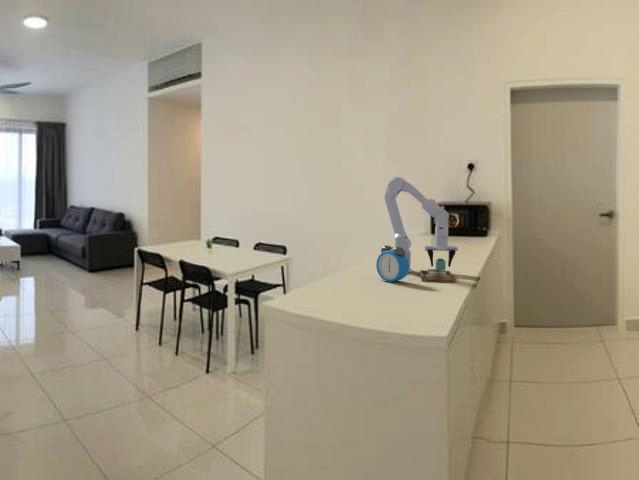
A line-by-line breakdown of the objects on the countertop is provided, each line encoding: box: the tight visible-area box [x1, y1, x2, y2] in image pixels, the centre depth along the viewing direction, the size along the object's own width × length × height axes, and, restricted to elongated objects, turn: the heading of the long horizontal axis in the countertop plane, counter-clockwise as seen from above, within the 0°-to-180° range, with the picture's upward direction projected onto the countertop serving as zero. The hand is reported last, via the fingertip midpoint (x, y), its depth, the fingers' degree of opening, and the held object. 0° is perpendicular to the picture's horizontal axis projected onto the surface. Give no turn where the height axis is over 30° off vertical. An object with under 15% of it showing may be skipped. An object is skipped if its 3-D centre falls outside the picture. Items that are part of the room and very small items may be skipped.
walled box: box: [419, 268, 455, 283], centre depth 197 cm, size 13×13×4 cm
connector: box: [434, 257, 447, 271], centre depth 208 cm, size 4×4×7 cm
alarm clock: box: [376, 244, 409, 284], centre depth 191 cm, size 13×6×15 cm, turn 44°
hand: (440, 266), depth 208 cm, fingers open, 7 cm apart
